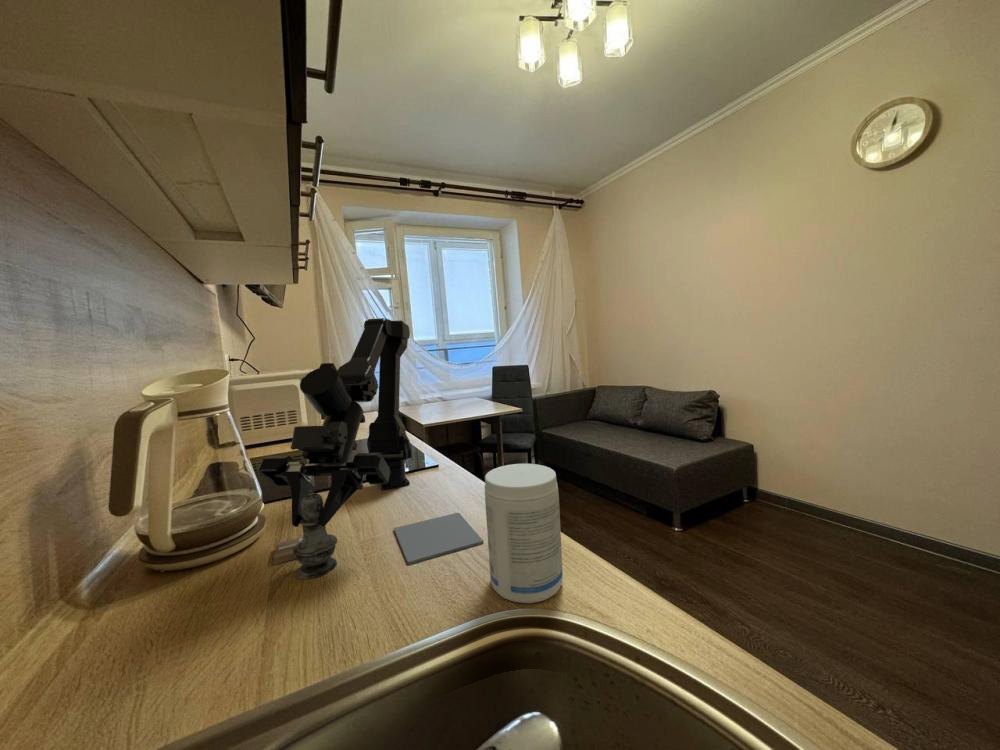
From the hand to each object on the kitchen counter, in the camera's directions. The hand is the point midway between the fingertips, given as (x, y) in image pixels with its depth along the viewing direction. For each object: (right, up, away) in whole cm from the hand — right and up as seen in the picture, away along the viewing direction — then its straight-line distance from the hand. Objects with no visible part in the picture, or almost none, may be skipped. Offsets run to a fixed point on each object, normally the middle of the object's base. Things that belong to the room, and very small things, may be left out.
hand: (308, 525), depth 53 cm
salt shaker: (0, -7, +2) cm, 7 cm away
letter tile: (-6, -7, +7) cm, 12 cm away
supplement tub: (+31, -6, -4) cm, 31 cm away
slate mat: (+17, -6, +10) cm, 20 cm away
